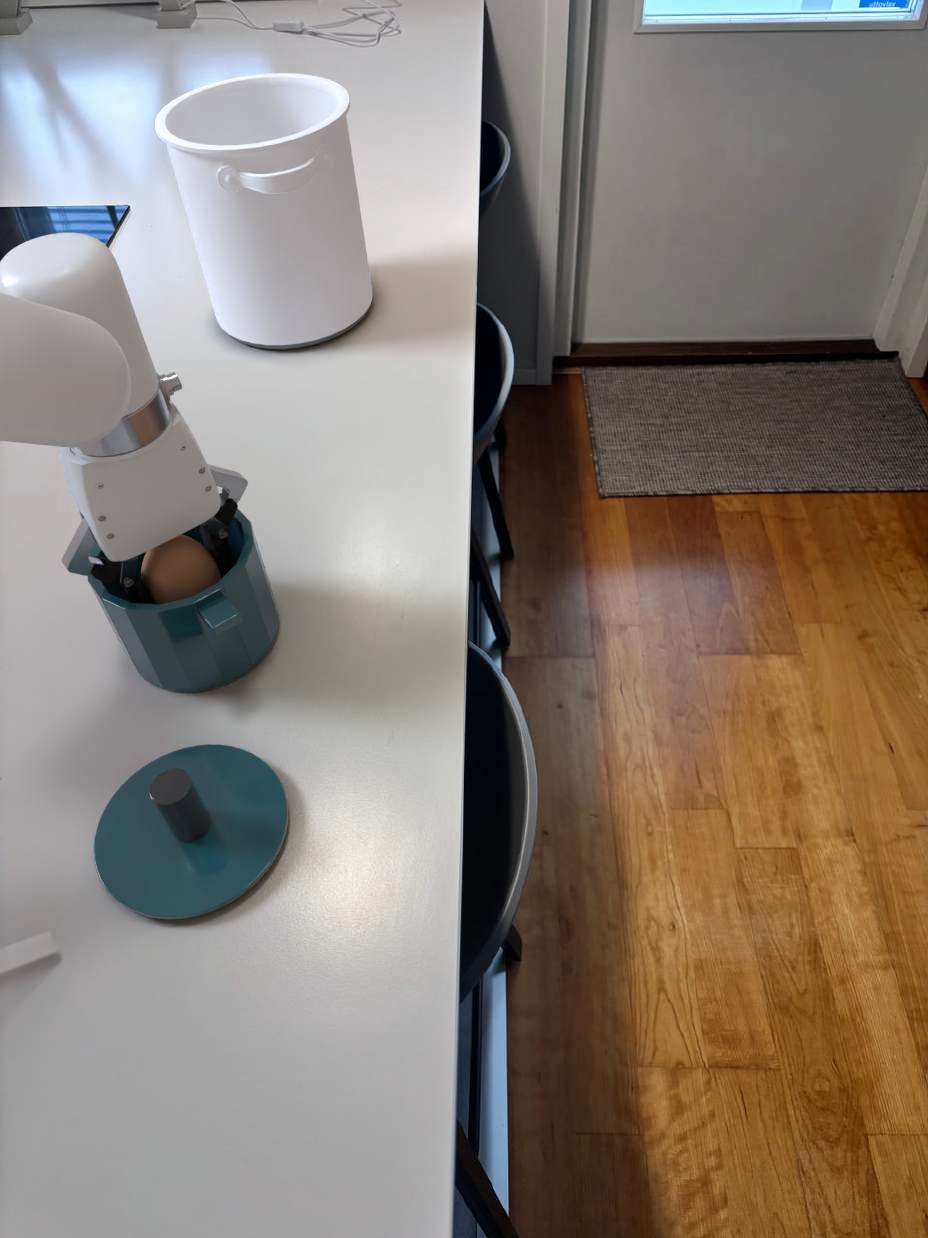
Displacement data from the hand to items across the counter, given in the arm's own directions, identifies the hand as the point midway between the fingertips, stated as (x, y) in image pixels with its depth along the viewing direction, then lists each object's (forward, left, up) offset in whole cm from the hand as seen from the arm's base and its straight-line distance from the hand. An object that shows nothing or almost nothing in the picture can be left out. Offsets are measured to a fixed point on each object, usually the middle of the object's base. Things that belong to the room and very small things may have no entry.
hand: (184, 585), depth 81 cm
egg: (0, 0, -3) cm, 3 cm away
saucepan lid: (-10, -18, -6) cm, 21 cm away
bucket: (+35, +43, -7) cm, 56 cm away
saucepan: (0, 0, -6) cm, 6 cm away
